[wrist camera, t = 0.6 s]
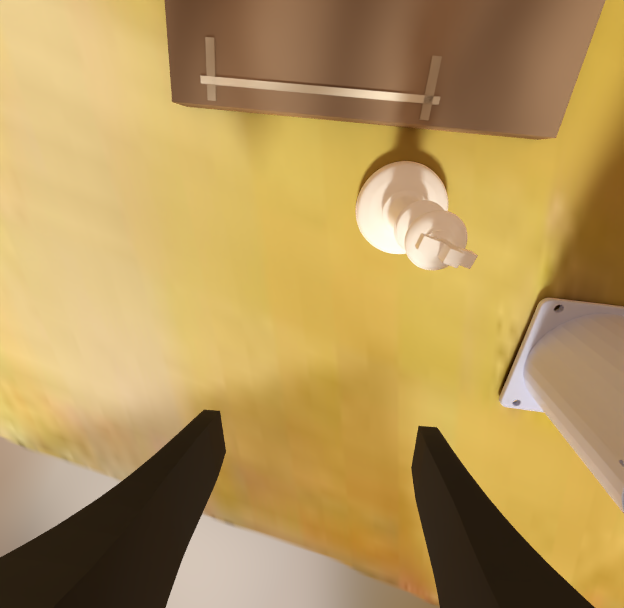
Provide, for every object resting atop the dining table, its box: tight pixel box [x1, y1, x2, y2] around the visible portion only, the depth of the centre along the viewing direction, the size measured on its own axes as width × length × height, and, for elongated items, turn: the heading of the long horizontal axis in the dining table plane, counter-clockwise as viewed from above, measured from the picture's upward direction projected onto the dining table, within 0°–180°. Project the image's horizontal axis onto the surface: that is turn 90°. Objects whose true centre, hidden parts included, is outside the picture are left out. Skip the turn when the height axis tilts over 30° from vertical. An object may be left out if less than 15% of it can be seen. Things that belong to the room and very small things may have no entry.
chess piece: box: [356, 161, 478, 270], centre depth 13 cm, size 5×5×10 cm
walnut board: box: [165, 0, 605, 140], centre depth 14 cm, size 18×8×2 cm, turn 85°
